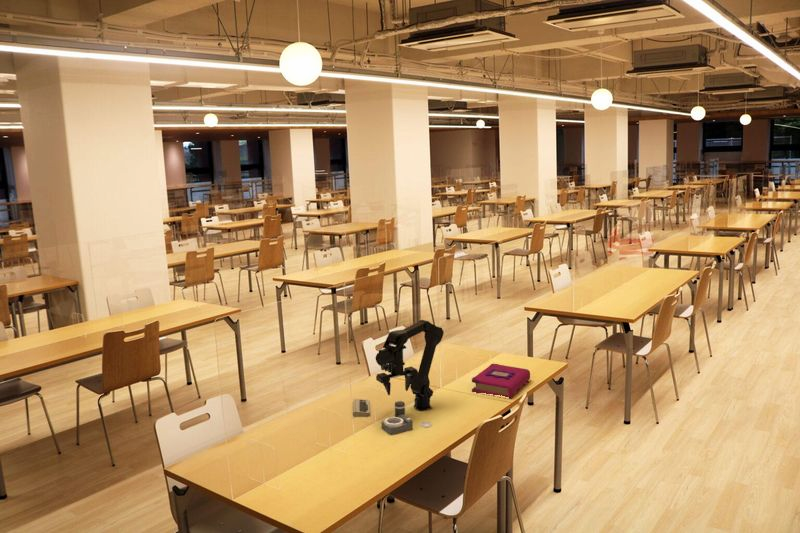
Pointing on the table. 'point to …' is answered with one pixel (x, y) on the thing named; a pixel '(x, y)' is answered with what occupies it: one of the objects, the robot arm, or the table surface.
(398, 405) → the lens
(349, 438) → the table surface
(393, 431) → the camera body
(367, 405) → the computer
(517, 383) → the book
